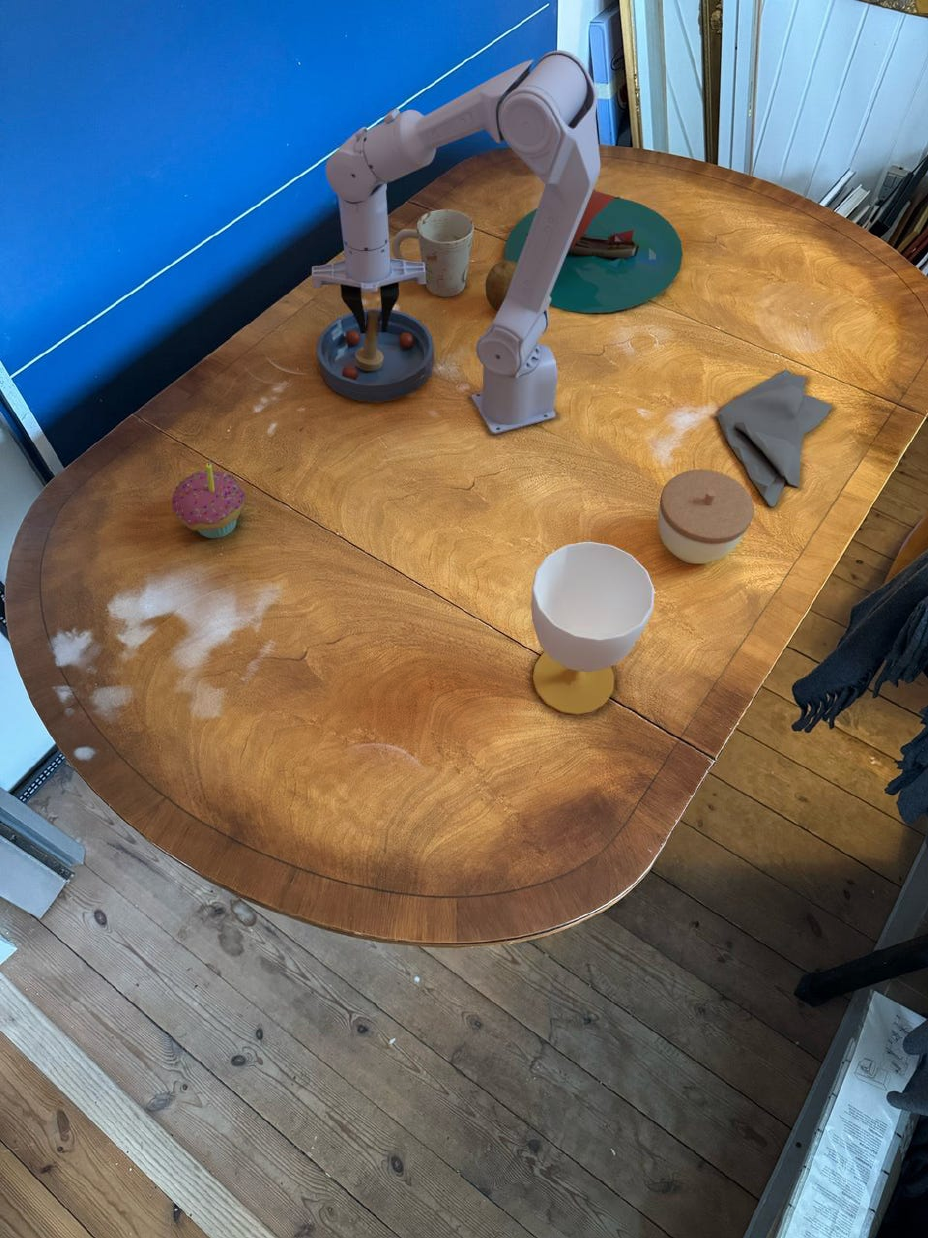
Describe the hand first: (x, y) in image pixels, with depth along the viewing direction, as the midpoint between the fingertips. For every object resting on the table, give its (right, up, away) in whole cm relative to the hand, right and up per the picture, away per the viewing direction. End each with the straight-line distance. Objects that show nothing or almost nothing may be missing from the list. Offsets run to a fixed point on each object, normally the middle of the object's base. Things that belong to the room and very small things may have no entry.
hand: (373, 328), depth 122 cm
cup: (+25, -47, -23) cm, 58 cm away
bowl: (0, -4, +5) cm, 6 cm away
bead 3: (+4, 0, +6) cm, 7 cm away
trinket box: (+41, -31, -12) cm, 52 cm away
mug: (+7, +12, +16) cm, 22 cm away
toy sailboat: (+33, +17, +20) cm, 42 cm away
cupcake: (-18, -28, -11) cm, 36 cm away
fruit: (+19, +7, +13) cm, 24 cm away
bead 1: (-4, +1, +6) cm, 7 cm away
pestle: (-1, -3, +4) cm, 6 cm away
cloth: (+54, -15, -1) cm, 55 cm away
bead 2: (-3, -6, +2) cm, 7 cm away
